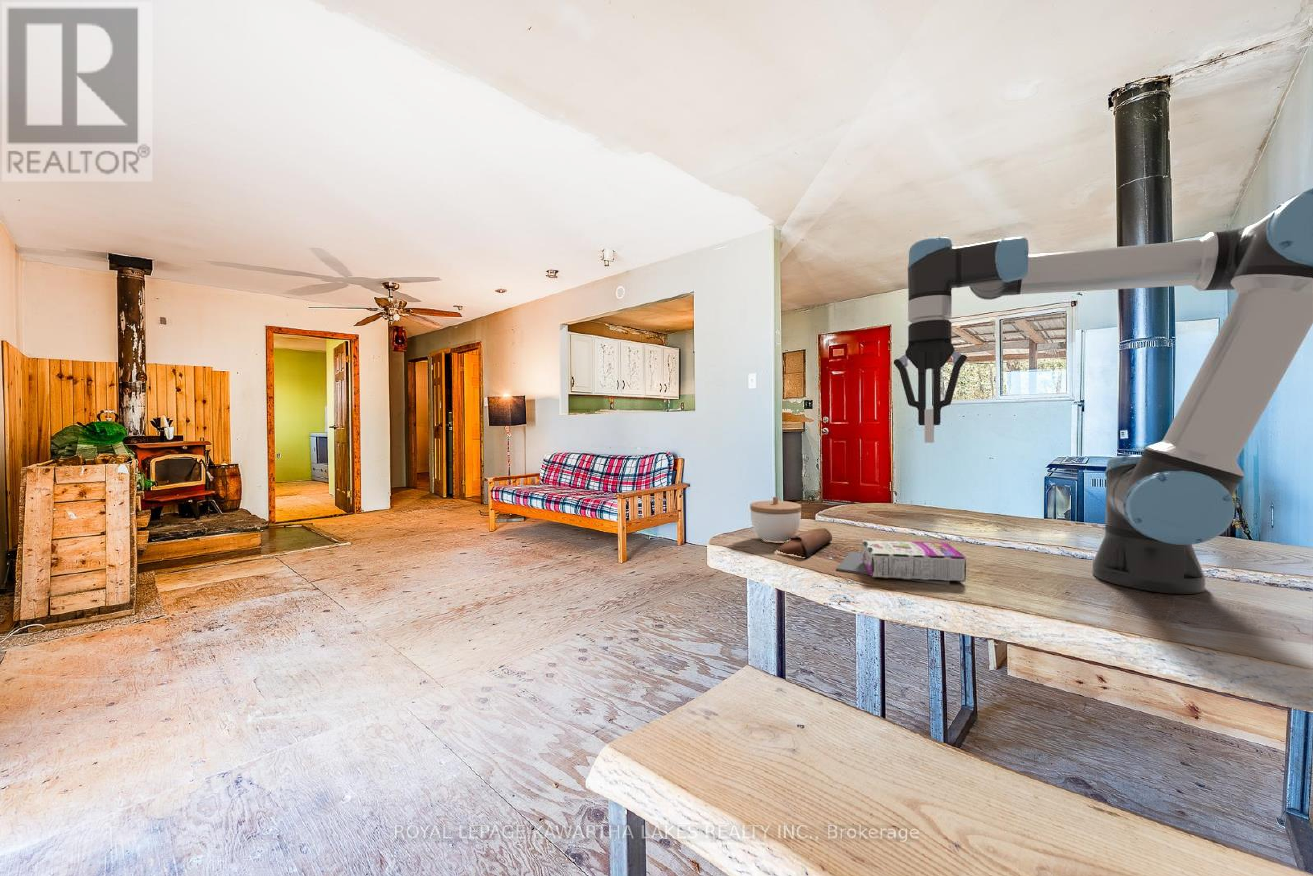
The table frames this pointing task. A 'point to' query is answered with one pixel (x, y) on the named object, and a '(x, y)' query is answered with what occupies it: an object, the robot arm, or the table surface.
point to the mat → (857, 566)
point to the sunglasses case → (806, 542)
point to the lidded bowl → (775, 519)
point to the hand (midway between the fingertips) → (929, 442)
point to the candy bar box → (913, 560)
